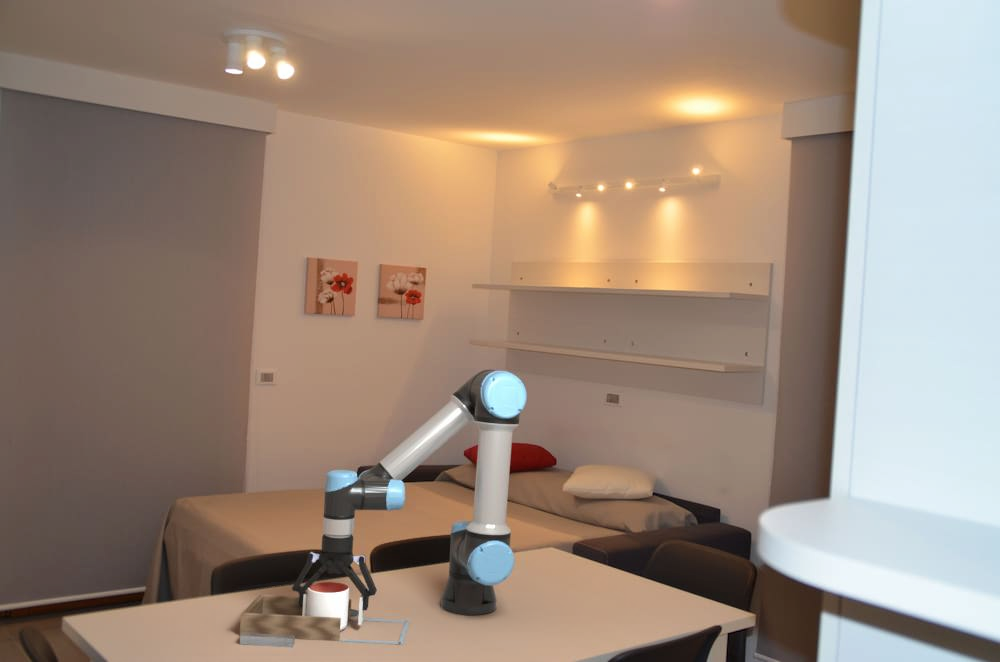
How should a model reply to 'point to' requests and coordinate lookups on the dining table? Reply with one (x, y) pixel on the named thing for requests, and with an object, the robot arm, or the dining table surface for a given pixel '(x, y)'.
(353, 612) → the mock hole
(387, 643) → the pale blue bent rod
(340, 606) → the cup
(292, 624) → the cubby
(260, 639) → the hook bar
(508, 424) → the robot arm
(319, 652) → the dining table surface
